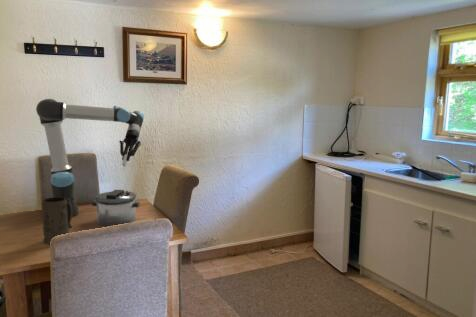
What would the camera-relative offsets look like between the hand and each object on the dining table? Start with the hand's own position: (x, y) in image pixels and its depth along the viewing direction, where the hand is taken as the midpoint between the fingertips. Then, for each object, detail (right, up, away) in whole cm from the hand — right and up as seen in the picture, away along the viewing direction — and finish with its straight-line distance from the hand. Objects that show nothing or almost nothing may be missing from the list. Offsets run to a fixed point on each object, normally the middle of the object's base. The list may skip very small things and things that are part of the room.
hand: (124, 165), depth 219 cm
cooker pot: (-1, -30, -9) cm, 31 cm away
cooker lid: (-1, -18, -11) cm, 21 cm away
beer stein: (-19, -34, -37) cm, 54 cm away
